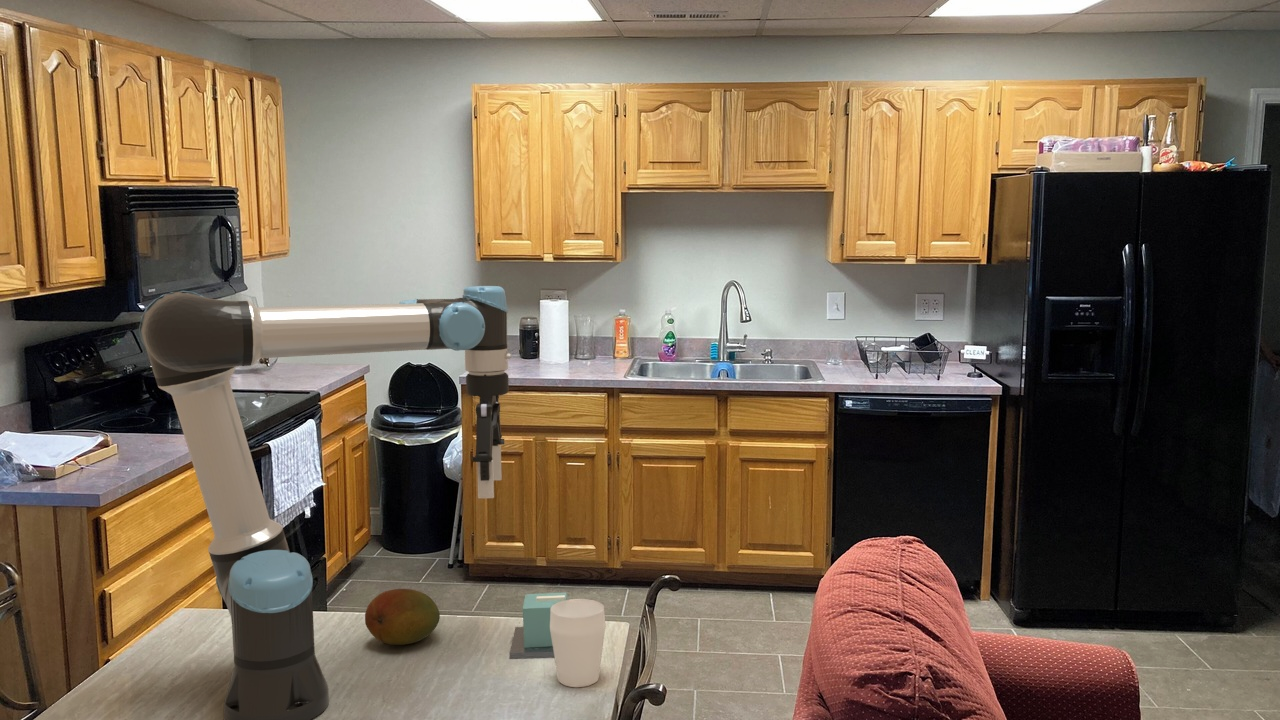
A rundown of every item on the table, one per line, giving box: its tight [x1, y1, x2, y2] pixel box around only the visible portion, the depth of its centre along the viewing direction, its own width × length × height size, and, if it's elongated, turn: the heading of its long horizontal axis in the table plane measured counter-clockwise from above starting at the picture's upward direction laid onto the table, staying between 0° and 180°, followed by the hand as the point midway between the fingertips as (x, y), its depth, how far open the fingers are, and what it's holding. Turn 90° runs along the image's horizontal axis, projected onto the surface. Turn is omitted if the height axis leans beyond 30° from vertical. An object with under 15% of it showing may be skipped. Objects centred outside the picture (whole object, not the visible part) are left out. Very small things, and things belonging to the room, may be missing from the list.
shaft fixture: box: [509, 626, 555, 660], centre depth 179 cm, size 12×12×6 cm
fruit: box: [364, 588, 441, 646], centre depth 181 cm, size 12×13×10 cm
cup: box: [550, 598, 606, 688], centre depth 164 cm, size 9×9×12 cm
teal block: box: [522, 591, 568, 648], centre depth 179 cm, size 7×7×8 cm
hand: (490, 488), depth 183 cm, fingers open, 13 cm apart
